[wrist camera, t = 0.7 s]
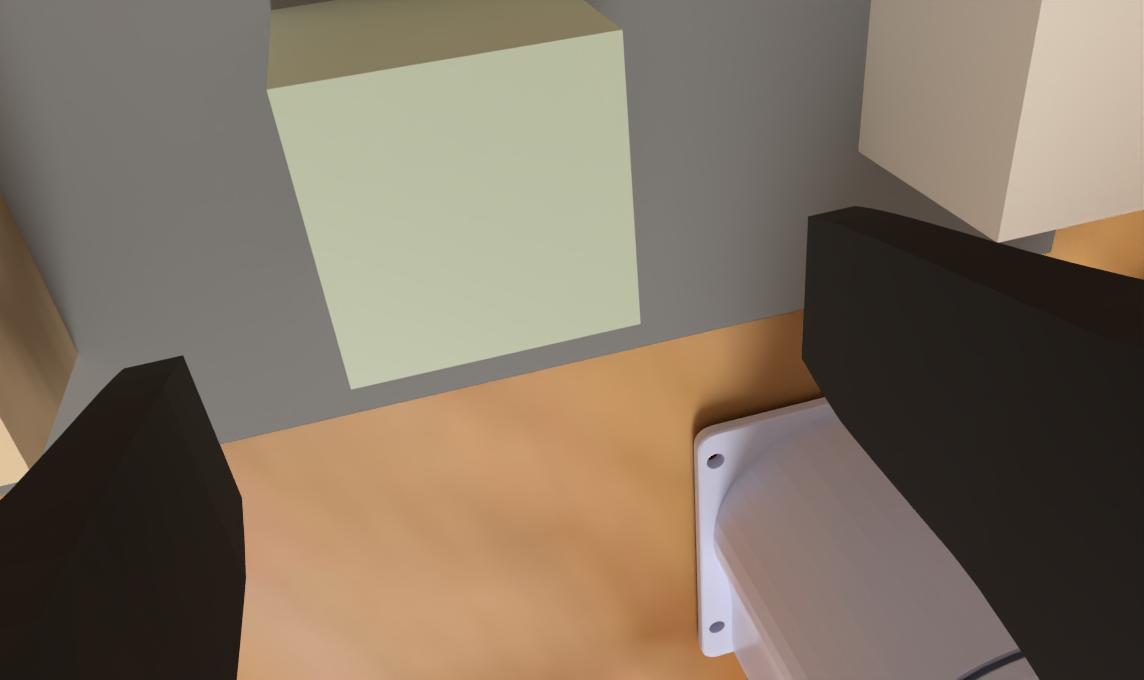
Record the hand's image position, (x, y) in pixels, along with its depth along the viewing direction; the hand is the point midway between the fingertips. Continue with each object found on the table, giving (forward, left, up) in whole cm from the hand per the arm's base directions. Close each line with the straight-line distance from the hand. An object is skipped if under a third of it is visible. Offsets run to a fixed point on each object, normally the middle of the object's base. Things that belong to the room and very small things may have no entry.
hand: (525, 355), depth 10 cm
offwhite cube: (0, -12, -9) cm, 15 cm away
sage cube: (0, 0, -9) cm, 9 cm away
